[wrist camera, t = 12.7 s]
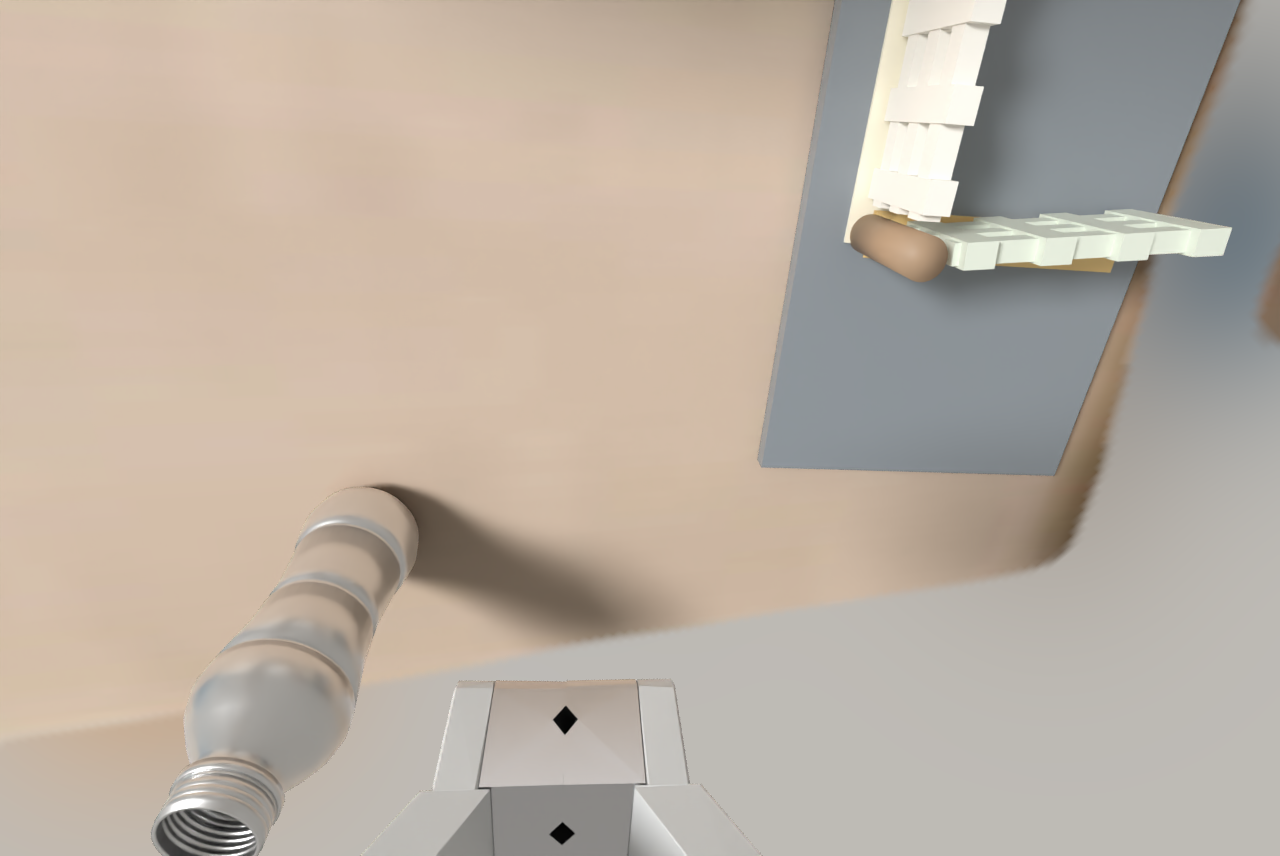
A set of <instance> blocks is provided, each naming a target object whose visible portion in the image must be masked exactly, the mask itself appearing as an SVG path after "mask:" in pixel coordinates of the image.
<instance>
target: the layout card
mask: <svg viewBox="0 0 1280 856" xmlns="http://www.w3.org/2000/svg"><path fill="white" fill-rule="evenodd" d="M1239 2H1240V0H1007V1H1006V5H1005V9H1004V13H1003V16H1002V20H1001V24H998V25H993V26H990V30H989V34H988V38H987V41H986V45H985V49H984V53H983V57H982V61H981V65H980V69H979V72H978V76H977V80H976V84H975V86H983V87H984V89H983V92H982V96H981V100H980V104H979V108H978V111H977V115H976V119H975V123H974V126H965V127H964V131H963V135H962V138H961V142H960V146H959V150H958V154H957V158H956V162H955V166H954V169H953V173H952V177H951V180H953V181H958V182H959V184H958V187H957V191H956V195H955V199H954V203H953V206H952V210H951V214H950V217H943V216H941V220H940V222H942V223H955V222H972V221H973V220H974V218H977V217H995V216H1002V217H1005V218H1009V219H1026V218H1039V215H1040V214H1049V213H1070V214H1075V215H1098V214H1104V213H1105V210H1121V209H1134V210H1140V211H1145V212H1150V213H1156V214H1157V212H1158V209H1159V207H1160V204H1161V202H1162V199H1163V197H1164V194H1165V191H1166V189H1167V186H1168V184H1169V181H1170V179H1171V176H1172V174H1173V171H1174V168H1175V166H1176V163H1177V161H1178V158H1179V156H1180V153H1181V151H1182V148H1183V145H1184V143H1185V140H1186V138H1187V135H1188V133H1189V130H1190V128H1191V125H1192V122H1193V120H1194V117H1195V115H1196V112H1197V110H1198V107H1199V105H1200V102H1201V99H1202V97H1203V94H1204V92H1205V89H1206V87H1207V84H1208V82H1209V79H1210V76H1211V74H1212V71H1213V69H1214V66H1215V64H1216V61H1217V59H1218V56H1219V54H1220V51H1221V48H1222V46H1223V43H1224V41H1225V38H1226V36H1227V33H1228V31H1229V28H1230V25H1231V23H1232V20H1233V18H1234V15H1235V13H1236V10H1237V8H1238V5H1239ZM908 4H909V0H835V3H834V9H833V15H832V21H831V27H830V33H829V39H828V45H827V51H826V57H825V63H824V69H823V74H822V80H821V86H820V92H819V98H818V104H817V110H816V116H815V122H814V128H813V134H812V140H811V146H810V151H809V157H808V163H807V169H806V175H805V181H804V187H803V193H802V199H801V205H800V211H799V217H798V223H797V228H796V234H795V240H794V246H793V252H792V258H791V264H790V270H789V276H788V282H787V288H786V294H785V300H784V305H783V311H782V317H781V323H780V329H779V335H778V341H777V347H776V353H775V359H774V365H773V371H772V377H771V382H770V388H769V394H768V400H767V406H766V412H765V418H764V424H763V430H762V436H761V442H760V448H759V454H758V461H759V464H760V466H761V467H768V468H803V469H838V470H873V471H908V472H943V473H978V474H1013V475H1048V476H1054V475H1055V472H1056V470H1057V467H1058V465H1059V462H1060V460H1061V457H1062V455H1063V452H1064V449H1065V447H1066V444H1067V442H1068V439H1069V437H1070V434H1071V432H1072V429H1073V427H1074V424H1075V421H1076V419H1077V416H1078V414H1079V411H1080V409H1081V406H1082V404H1083V401H1084V398H1085V396H1086V393H1087V391H1088V388H1089V386H1090V383H1091V381H1092V378H1093V375H1094V373H1095V370H1096V368H1097V365H1098V363H1099V360H1100V358H1101V355H1102V352H1103V350H1104V347H1105V345H1106V342H1107V340H1108V337H1109V335H1110V332H1111V329H1112V327H1113V324H1114V322H1115V319H1116V317H1117V314H1118V312H1119V309H1120V306H1121V304H1122V301H1123V299H1124V296H1125V294H1126V291H1127V289H1128V286H1129V283H1130V281H1131V278H1132V276H1133V273H1134V271H1135V268H1136V266H1137V263H1138V260H1136V261H1119V262H1117V261H1113V260H1110V259H1106V258H1103V257H1102V258H1085V259H1073V260H1072V264H1069V265H1052V266H1039V265H1036V264H1033V263H1030V262H1018V263H1001V264H995V268H994V269H985V270H968V271H963V270H960V269H958V268H956V267H953V266H949V265H947V264H946V265H945V267H944V269H943V270H942V271H941V273H940V274H939V275H938V276H936V277H935V278H933V279H932V280H929V281H926V282H915V281H912V280H910V279H908V278H907V277H905V276H903V275H901V274H899V273H897V272H895V271H893V270H891V269H890V268H888V267H886V266H884V265H882V264H880V263H878V262H876V261H874V260H872V259H871V258H869V257H867V256H865V255H863V254H861V253H859V252H857V251H856V250H854V249H853V248H852V246H851V244H850V243H851V242H850V232H851V229H852V227H853V225H854V224H855V222H856V221H857V220H858V219H860V218H861V217H863V216H865V215H868V214H876V215H879V216H882V217H884V218H887V219H890V220H892V221H895V222H898V223H901V224H903V225H907V221H917V220H914V219H911V218H908V215H903V214H896V213H893V212H890V211H889V209H885V208H878V207H875V206H873V199H870V198H868V195H869V190H870V185H871V181H872V176H873V171H874V168H880V167H881V163H882V158H883V153H884V149H885V144H886V139H887V135H888V130H889V125H890V121H884V119H885V114H886V109H887V104H888V100H889V95H890V90H891V88H898V83H899V78H900V74H901V69H902V64H903V60H904V55H905V50H906V46H907V41H908V37H902V33H903V28H904V23H905V18H906V14H907V9H908Z"/></svg>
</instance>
